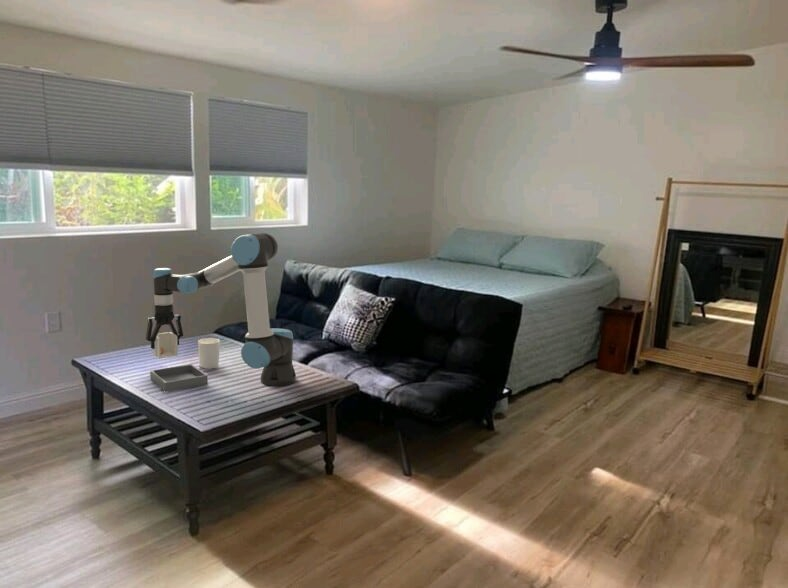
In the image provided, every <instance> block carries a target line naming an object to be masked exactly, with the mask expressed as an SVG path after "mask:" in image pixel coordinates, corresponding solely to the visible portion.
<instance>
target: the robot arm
mask: <svg viewBox="0 0 788 588" xmlns="http://www.w3.org/2000/svg"><path fill="white" fill-rule="evenodd" d="M278 244H279V243H278V241H277V240H276V238H275V237H274V236H272V235H271V234H269V233H266V232H260V233H247V234H243V235H240V236H238V237H236V238H235V239H234V241H233V242H232V244H231V247H230V256H229V255H228V256H227V257H226V258H223V259H222V260H220V261H217V262H215V263H213V264H212V265H210V266H208V267H206V268H204V269H201V270H200V271H197V272H192V273H185V274H174V272H173V269H171V268H170V267H169V268H168V267H157V268H155V269H154V270H153V278H152V279H153V280H152V281H153V290H154V291H153V294H154V296H153V297H154V299H153V300H154V315H153V316H152V317H147V319H146V321H147V328H146V333H145V334H146V335H145V340H147V341H148V342H150V349H152V355H153V356H154V357H156V356H157V342H156V341H155V339H156V337H157V334H159V332H160V329H161V328H162V326H164V325H165V326H167V325H168V326H169V328H170V330H171V332H172V333H173V334H175V335H177V343H178V346H179V345H180V339H181V337H184V332H183V328H182V327H183V326H182V323H181V322H182V321H181V318H182V316H181V315H180V314H174V304H173V303H174V295H173V294H174V293H179V294H180V293H181V294H193V293H195V292H196V291H197V290H201V289H207V288H210V287H213V286H214V284H215V283H218V282H220V281H221V280H224V279H226V278H227V277H228V278H229V277H230V276H232V275H234V274H237V273H238V272H241V273H242V279H243V288H244V299H245V300H244V301H245V309H246V317H247V318H246V319H247V330H248V331H247V332H246V334H245V336H244V337H245V338H244V339H245V343H244V344H243V346H242V347H241V349H240V350H241V351H240V354H241V355H240V356H241V358H242V360H243V362H244V363H245V364H246V365H247V366H248V367H250V368H252V369H258V370H259V369H262V368H263V369H262V371H261V374H260V382H261V383H262V384H263V385H266V386H270V385H271V386H272V387H283V386H285V385H286V386H289V384H290V385H292V383H293V382H294V383H296V381H297V375H296V372H295V368H294V365H293V351H294V349H293V348H294V334H293V332H292V330H290V329H286V328H280V327H279V328H278V327H277V328H274V327H273V328H271V325H270V315H269V306H268V305H269V303H268V296H267V295H268V293H267V284H266V274H265V272H266V270H267V269H268V268H269V264H268V261H270V260H272V259H274V258H275V256H276V255H277V253H278V251H279V250H278V249H279V246H278ZM174 319H175V324H176V327H177V330H176V327H175V325H174V323H173V320H174ZM154 322H156V323H155V327H154V324H153V323H154ZM153 327H154V328H153ZM294 383H293V384H294ZM271 386H270V387H271Z"/></svg>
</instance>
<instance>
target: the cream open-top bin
mask: <svg viewBox="0 0 788 588" xmlns="http://www.w3.org/2000/svg"><path fill="white" fill-rule="evenodd" d="M155 341H156V342H157V356H155V357H156V358H158V359H164V358H170V357H171V358H172V357H177V356H179V353H178V352H179V351H178V349H179V347H178V346H179V345H178V343H177V335H175V334H173V332H172V331H169V332H160V333H159V332H158V334H157V337H156V339H155ZM160 347H162V348H163V349H164V352H163V353H162V354H161V353H160Z"/></svg>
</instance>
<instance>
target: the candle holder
mask: <svg viewBox="0 0 788 588" xmlns="http://www.w3.org/2000/svg"><path fill="white" fill-rule="evenodd" d="M197 345H198V346H197V347H198V360H199V361H198V362H199V367H200V368H201V367H202V369H215V368H217V367H219V364H220V363H219V362H220V349H221V348H220V347H221V339H219V338H215V337H209V338H208V337H204V338H200V339H198V340H197ZM214 367H215V368H214Z"/></svg>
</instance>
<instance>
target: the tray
mask: <svg viewBox="0 0 788 588" xmlns="http://www.w3.org/2000/svg"><path fill="white" fill-rule="evenodd" d="M149 372H150V380H151V381H152V383H154V384H155V385H156V386H157V387H158V388H160V390H162V391H163V392H164V391H165V392H164V393H169V392H173V391H178V390H183V389H184V388H185V389H189V388H194V387H201V386H205V385H208V383H209V381H208V380H209V379H208V378H209V377H208V374H206V373H205V372H204V371H202V370H201V369H199V368H198V367H197V366H195V365H193V364H192V363H190V364H184V365H183V364H182V365H178V366H172V367H171V366H170V367H165V368H160V369H152V370H150V371H149Z"/></svg>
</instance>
